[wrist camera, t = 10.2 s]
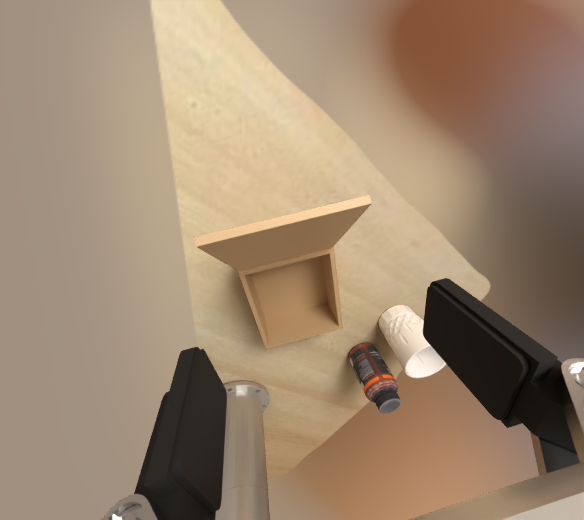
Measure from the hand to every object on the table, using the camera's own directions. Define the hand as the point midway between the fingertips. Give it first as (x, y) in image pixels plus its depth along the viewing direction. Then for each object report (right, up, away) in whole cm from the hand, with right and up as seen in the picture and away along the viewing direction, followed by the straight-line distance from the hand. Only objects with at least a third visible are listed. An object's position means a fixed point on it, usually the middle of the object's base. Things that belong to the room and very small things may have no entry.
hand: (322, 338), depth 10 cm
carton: (-2, 0, +28) cm, 28 cm away
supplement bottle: (+13, -16, +40) cm, 45 cm away
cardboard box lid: (-2, +4, +13) cm, 13 cm away
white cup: (+18, -8, +37) cm, 42 cm away
